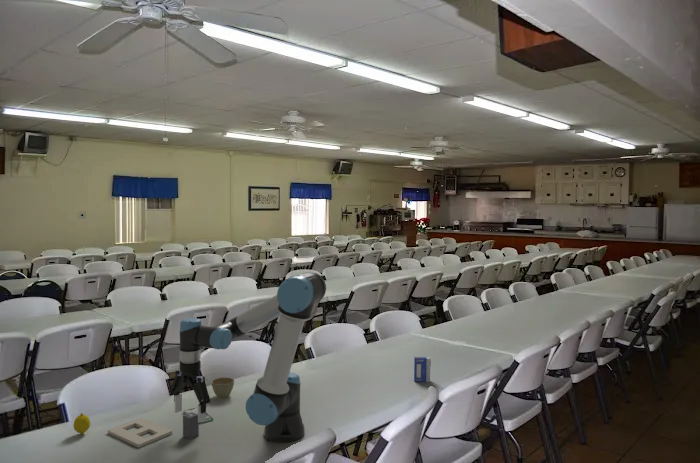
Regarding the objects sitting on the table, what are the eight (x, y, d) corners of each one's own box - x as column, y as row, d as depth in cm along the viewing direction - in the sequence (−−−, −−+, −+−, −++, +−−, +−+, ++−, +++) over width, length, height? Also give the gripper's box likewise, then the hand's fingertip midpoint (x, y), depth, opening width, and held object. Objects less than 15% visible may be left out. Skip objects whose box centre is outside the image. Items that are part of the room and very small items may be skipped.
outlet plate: (172, 433, 197) (172, 430, 197) (138, 447, 185) (138, 444, 185) (141, 420, 208) (141, 417, 208) (107, 433, 197) (107, 430, 197)
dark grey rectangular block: (198, 435, 196) (198, 414, 195) (189, 439, 192) (189, 417, 192) (191, 432, 198) (191, 411, 197) (183, 436, 195) (182, 415, 194)
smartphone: (196, 424, 204) (182, 411, 216) (196, 427, 205) (182, 413, 216) (214, 419, 209) (199, 406, 221) (214, 422, 209) (199, 409, 221)
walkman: (414, 381, 257) (414, 357, 256) (414, 379, 259) (414, 356, 259) (430, 382, 256) (430, 358, 255) (429, 380, 259) (430, 356, 258)
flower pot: (238, 396, 235) (238, 380, 235) (219, 402, 228) (219, 386, 227) (226, 390, 242) (226, 375, 242) (207, 396, 235) (207, 380, 234)
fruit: (73, 438, 192) (72, 417, 192) (74, 432, 197) (74, 411, 197) (89, 435, 194) (89, 414, 194) (90, 429, 199) (90, 409, 199)
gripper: (220, 364, 189) (220, 421, 191) (177, 351, 204) (177, 404, 205) (204, 370, 183) (203, 428, 185) (160, 356, 198) (160, 410, 199)
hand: (189, 416), depth 195 cm, fingers open, 13 cm apart
